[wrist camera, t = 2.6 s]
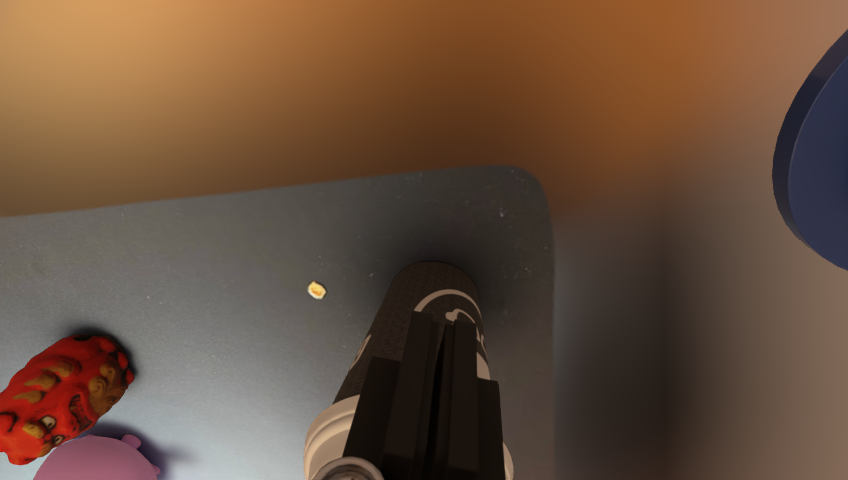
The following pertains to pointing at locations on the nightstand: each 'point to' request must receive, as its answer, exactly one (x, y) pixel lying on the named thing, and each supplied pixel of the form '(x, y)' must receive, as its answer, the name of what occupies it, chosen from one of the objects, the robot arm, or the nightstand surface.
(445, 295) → the coffee cup
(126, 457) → the teapot
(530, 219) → the nightstand surface
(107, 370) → the red clay folk toy
